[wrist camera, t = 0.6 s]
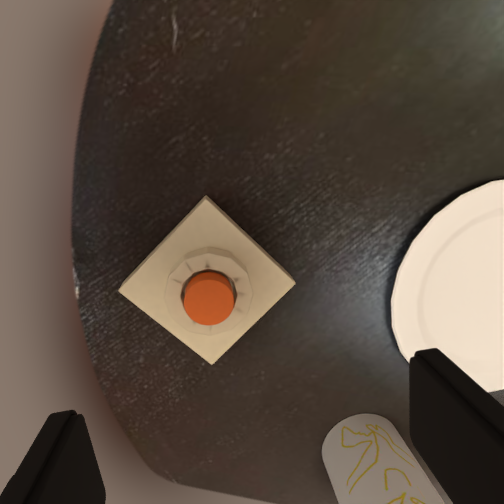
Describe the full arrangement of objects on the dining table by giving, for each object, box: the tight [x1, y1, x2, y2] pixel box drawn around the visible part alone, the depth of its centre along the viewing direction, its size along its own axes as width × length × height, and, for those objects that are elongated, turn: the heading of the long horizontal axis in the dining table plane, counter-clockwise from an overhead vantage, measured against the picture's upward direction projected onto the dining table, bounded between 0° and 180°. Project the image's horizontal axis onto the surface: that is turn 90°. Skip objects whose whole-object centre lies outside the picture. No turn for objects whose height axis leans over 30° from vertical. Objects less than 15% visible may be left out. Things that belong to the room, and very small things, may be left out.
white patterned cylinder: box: [322, 414, 445, 504], centre depth 33 cm, size 8×8×12 cm
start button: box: [184, 272, 234, 326], centre depth 28 cm, size 4×4×2 cm
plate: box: [390, 179, 504, 392], centre depth 35 cm, size 21×21×2 cm
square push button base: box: [118, 195, 296, 365], centre depth 30 cm, size 10×10×4 cm
